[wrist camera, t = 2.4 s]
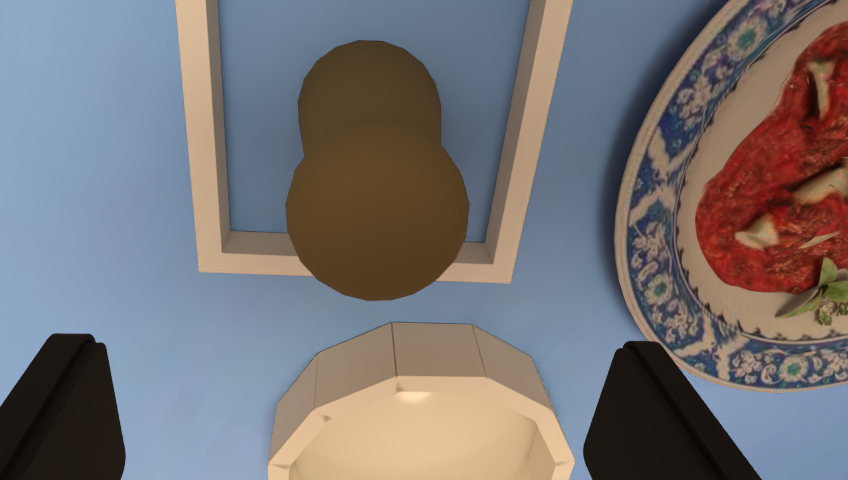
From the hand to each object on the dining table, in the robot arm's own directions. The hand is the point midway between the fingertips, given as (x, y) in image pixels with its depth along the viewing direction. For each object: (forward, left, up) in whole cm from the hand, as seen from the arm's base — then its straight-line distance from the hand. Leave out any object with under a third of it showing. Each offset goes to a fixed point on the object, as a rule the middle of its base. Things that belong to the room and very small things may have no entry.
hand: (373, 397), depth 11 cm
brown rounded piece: (0, 0, -16) cm, 16 cm away
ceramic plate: (-24, +1, -17) cm, 30 cm away
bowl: (-4, +19, -16) cm, 25 cm away
